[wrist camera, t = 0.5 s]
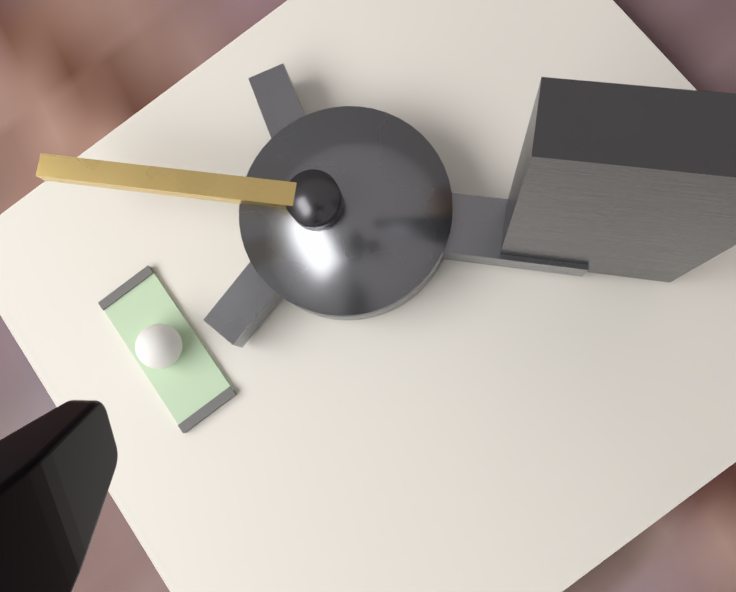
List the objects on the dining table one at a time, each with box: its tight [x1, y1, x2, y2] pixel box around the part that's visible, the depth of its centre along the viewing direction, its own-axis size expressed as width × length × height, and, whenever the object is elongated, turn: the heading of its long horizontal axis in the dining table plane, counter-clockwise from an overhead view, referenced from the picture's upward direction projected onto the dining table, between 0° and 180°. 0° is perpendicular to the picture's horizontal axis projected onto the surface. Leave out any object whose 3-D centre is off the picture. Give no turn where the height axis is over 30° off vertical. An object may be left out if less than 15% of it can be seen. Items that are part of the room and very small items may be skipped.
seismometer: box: [36, 64, 736, 348], centre depth 18 cm, size 19×9×9 cm, turn 81°
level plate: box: [0, 0, 736, 592], centre depth 22 cm, size 20×22×2 cm
